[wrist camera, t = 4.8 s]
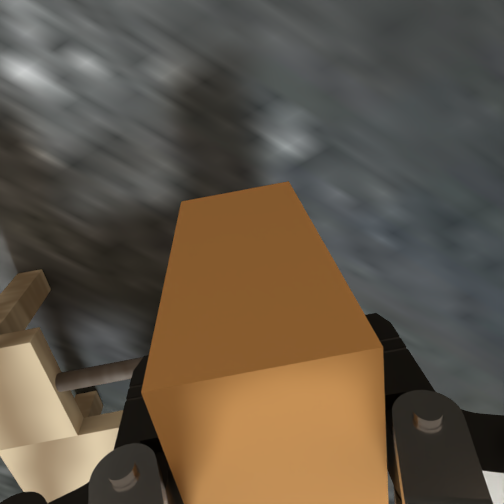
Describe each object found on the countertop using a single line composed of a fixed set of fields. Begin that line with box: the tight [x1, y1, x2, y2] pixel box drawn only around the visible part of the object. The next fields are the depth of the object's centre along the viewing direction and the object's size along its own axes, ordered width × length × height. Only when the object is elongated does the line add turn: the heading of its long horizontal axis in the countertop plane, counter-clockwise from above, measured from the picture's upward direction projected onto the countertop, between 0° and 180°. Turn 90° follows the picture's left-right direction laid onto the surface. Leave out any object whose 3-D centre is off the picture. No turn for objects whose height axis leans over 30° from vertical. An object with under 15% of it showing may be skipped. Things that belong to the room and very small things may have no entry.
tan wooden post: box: [141, 181, 388, 504], centre depth 12 cm, size 4×6×10 cm
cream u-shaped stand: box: [0, 269, 143, 503], centre depth 33 cm, size 20×16×11 cm
